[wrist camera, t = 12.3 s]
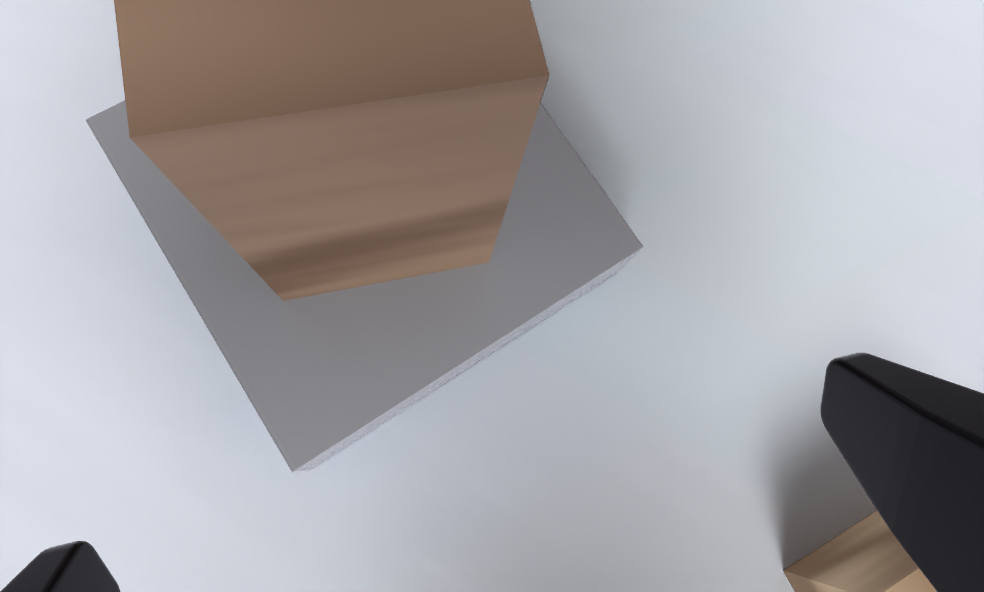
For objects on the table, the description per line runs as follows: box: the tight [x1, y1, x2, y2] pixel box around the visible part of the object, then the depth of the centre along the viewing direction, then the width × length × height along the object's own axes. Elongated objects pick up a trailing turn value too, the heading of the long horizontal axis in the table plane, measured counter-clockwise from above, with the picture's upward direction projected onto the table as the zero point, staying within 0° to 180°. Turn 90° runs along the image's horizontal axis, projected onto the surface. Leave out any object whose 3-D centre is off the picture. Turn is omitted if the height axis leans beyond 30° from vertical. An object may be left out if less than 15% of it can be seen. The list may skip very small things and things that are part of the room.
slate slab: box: [86, 101, 643, 472], centre depth 21 cm, size 12×12×3 cm
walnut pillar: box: [114, 0, 549, 301], centre depth 15 cm, size 6×6×10 cm
